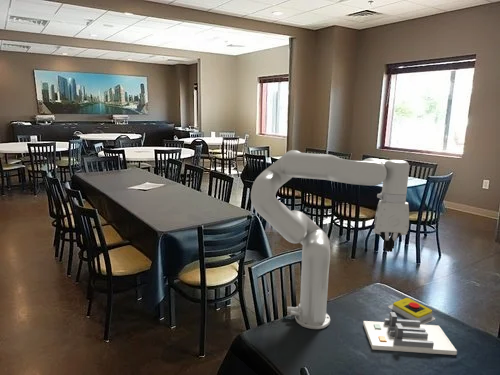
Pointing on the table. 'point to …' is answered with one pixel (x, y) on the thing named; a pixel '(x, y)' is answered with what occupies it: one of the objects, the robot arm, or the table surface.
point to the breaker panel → (409, 337)
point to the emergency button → (412, 310)
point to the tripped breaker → (398, 331)
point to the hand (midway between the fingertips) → (388, 250)
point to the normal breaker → (392, 319)
